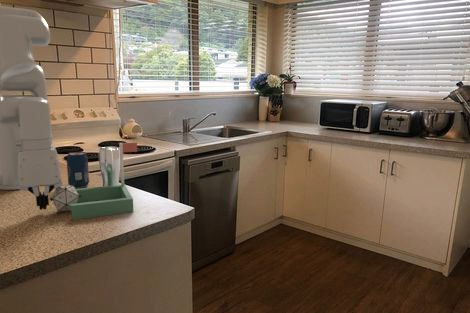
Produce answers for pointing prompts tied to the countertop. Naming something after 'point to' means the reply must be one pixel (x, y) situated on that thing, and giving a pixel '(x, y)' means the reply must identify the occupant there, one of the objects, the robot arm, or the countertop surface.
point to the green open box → (105, 195)
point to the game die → (65, 197)
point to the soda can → (77, 169)
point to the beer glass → (109, 165)
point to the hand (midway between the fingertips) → (43, 207)
